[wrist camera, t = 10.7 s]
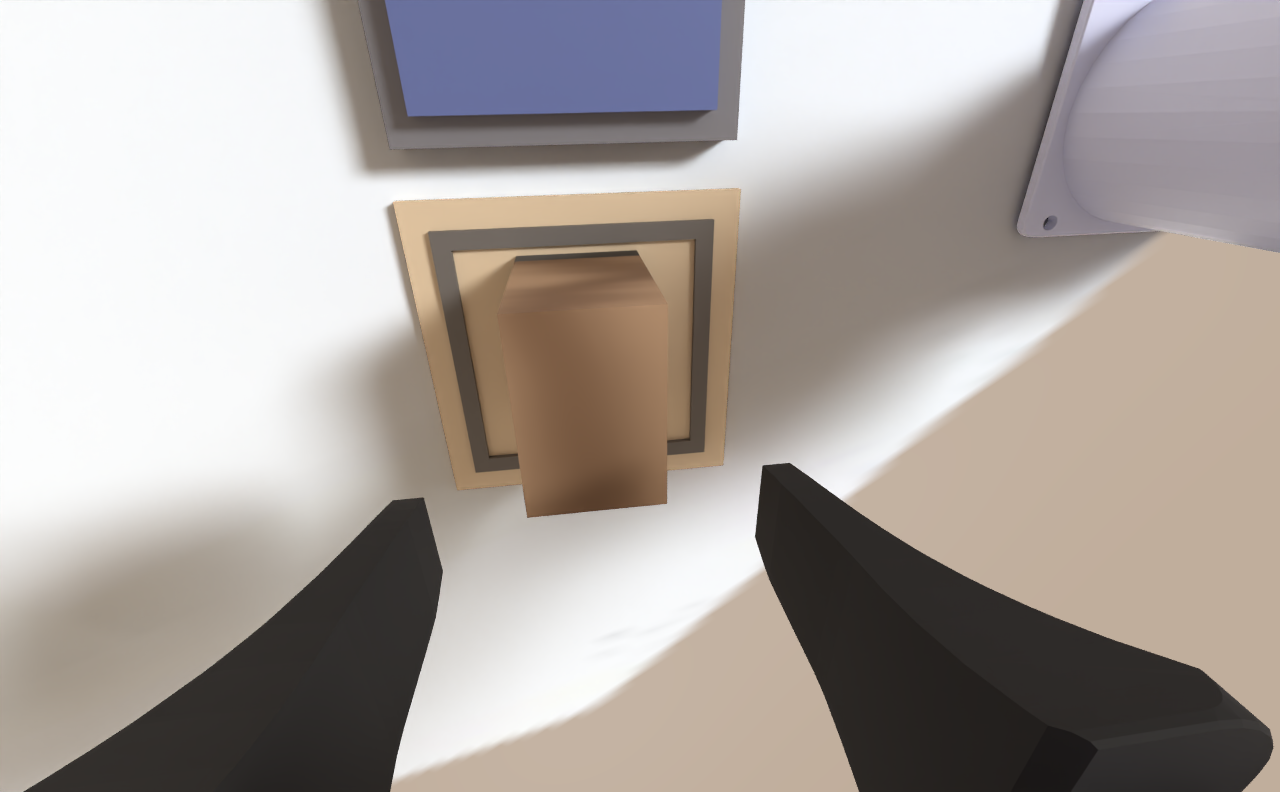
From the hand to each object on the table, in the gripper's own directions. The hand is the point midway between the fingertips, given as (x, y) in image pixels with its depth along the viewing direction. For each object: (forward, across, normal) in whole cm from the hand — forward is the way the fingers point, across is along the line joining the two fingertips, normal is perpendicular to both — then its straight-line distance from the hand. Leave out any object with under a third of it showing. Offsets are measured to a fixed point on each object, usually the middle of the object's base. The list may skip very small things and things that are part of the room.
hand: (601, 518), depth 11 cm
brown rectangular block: (+9, 0, -1) cm, 9 cm away
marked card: (+9, 0, 0) cm, 9 cm away
